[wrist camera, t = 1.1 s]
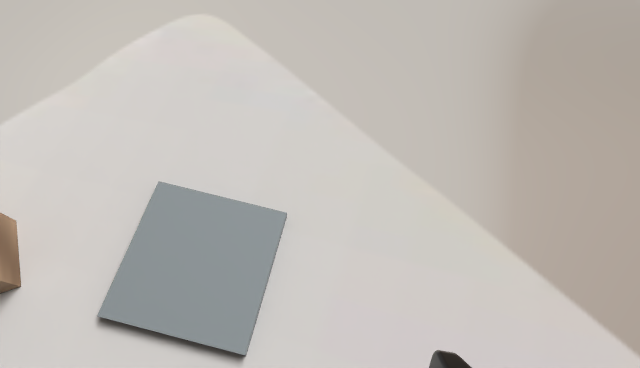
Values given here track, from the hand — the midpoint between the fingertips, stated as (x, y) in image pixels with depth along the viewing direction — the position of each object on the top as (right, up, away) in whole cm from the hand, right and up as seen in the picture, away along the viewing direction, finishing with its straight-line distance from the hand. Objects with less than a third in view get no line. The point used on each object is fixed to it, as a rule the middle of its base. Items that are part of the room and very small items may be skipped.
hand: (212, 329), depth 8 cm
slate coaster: (-5, -2, +15) cm, 15 cm away
